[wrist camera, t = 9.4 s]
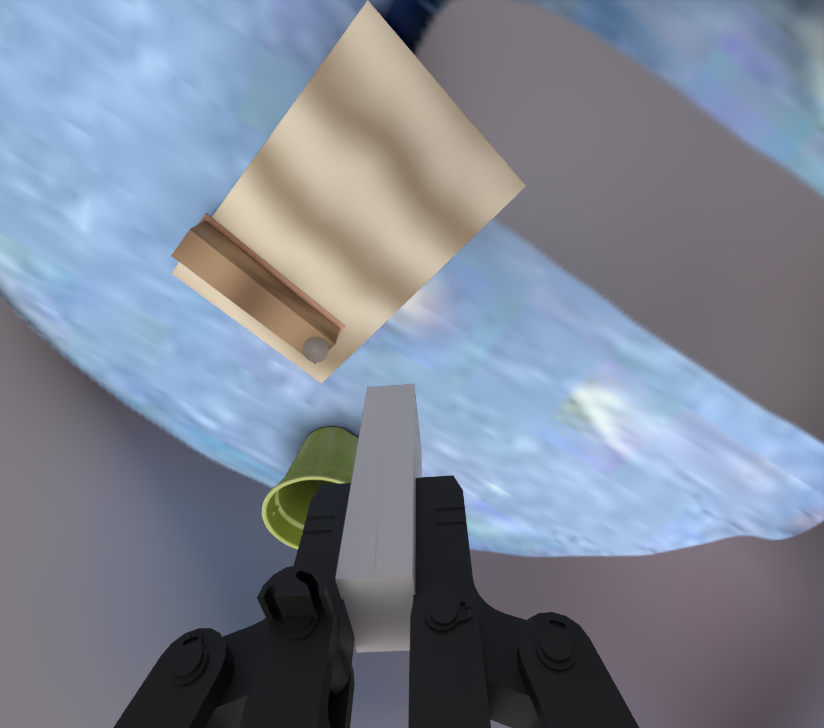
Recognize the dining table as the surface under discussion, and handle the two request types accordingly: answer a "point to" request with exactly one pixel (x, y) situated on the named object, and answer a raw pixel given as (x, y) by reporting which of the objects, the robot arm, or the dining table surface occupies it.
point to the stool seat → (360, 191)
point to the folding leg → (256, 291)
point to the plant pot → (308, 481)
